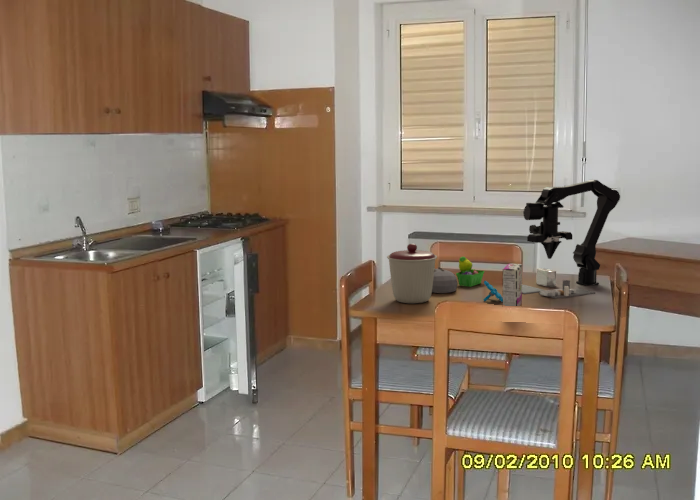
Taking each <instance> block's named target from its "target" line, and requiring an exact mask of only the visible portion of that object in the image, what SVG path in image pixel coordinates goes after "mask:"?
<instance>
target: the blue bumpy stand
mask: <svg viewBox="0 0 700 500" xmlns="http://www.w3.org/2000/svg"><path fill="white" fill-rule="evenodd" d="M483 283H484V284H483V285H485V287H486V288H487V289H488V290H489V291H490V292H488V295H486V296H485V297H484V298H483V302H486V301H488V300H490V298H491V297H494V296H495V298H497V299H498V300H499V301H500V302H501V303H503V295H502V294H501V293H500V292H498V289H497V288H496V287H494V286H493V285H492V284H490V283H489V282H488V281H487V280H484V281H483ZM497 299H496V300H497Z"/></svg>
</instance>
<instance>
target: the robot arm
mask: <svg viewBox="0 0 700 500" xmlns="http://www.w3.org/2000/svg"><path fill="white" fill-rule="evenodd" d="M587 192H591V193H592V194H593V195H594V196H596V197H597V200H596V212H595V214H594V216H593V218H592V221H591V222H590V226H589V228H588V231H587V233H586V235H585V238H584V240H583V242H582V243H581V244H578V243H577V244H575V245H576V246H575V249H574V250H573V252H572V254H573V256H572V258H573V261H574V263H575V264H576V267H577V268H579V270H578V277H577V278H578V279H577V280H578V281H576V282H575V283H577V284H579V285H580V284H581V285H585V286H592V285H599V284H600V282H597V273H598V272H597V271H599V270H600V268H601V264H600V262H598V260H596V256H597V255H596V254H597V248H596V246H597V243H598V241H599V239H600V236H601V234H602V231H603V229H604V226H605V224H606V222H607V218H609V217H608V216H609V214H610V212H612V211H613V210H614V209H615V208H616V206H617V205H618V204H619V202H620V199H621V195H620V193H619V191H618V190H616V189H613V188H611V187H610V186H607V185H605V184H604V183H602V182H601V181H599V180H598V179H589V180H585V181H582V182H577V183H572V184H569V185H565V186H547V187H543V189H542V191H541V193H540V196H539V197H538V198H537V200H536V201H535V202H526V204H525V207H524V209H523V218H524V220H525V221H539V220H540V223H539V225H537V226H536V224H531V225H529V228H528V231H529V234H528V235H527V237H526V238H527V239H526V241H527V242H530V243H535V244H537V243H538V244H541V245H542V246H543V248H544V250H545V251H544V252H545V254H546V257H547V259H549V260H551V259H552V258H553V256H554V255H555V252H556V250H557V248H558V247H559V245H560V244H561V243H562V241H561V240H560V239H565V240H566V241H572V240H573V233H572V232H571V231H559V226H561V221H559V208H560V209H562V208H564V207H565V206H564V205H563V204H562V203H561V201H562V200H564V199H566V198H567V197H569V196H575V195H578V194H582V193H587ZM541 220H542V221H541Z"/></svg>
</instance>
